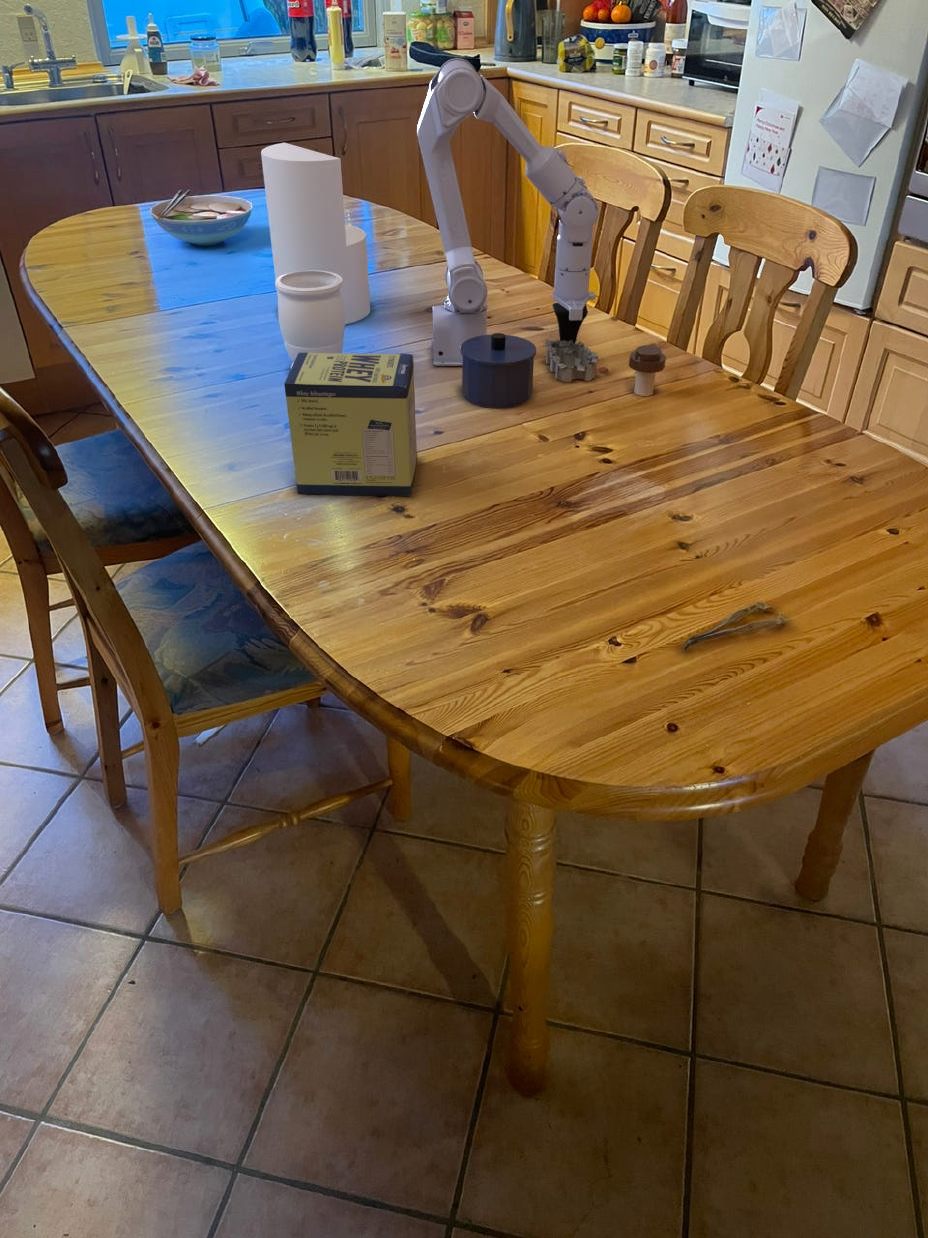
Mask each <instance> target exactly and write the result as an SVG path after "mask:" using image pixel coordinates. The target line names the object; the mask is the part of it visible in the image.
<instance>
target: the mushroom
mask: <svg viewBox="0 0 928 1238" xmlns="http://www.w3.org/2000/svg"><path fill="white" fill-rule="evenodd" d="M666 362H667V356H666V355H665V353H663V351H662V349H661V348H660V347H658V346H655V345H639V346H637V347H635V350H634V351H632V352H631V353H629V361H628V366H629V368H630V369H631V370H633V371H635V378H634V379H635V380H634V387H633V388H634V389H633V393H634V394H635V395H637V396H641V397H649V396H652V395H653V394H654V388H655V380H656V373H659V372H662V371H664V370H665V368H666Z"/></svg>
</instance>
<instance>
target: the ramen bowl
mask: <svg viewBox="0 0 928 1238" xmlns="http://www.w3.org/2000/svg"><path fill="white" fill-rule="evenodd" d="M190 193H191V191H190V189H187V190H185V191H184V192H183V190H182V189H179V190H178V191H177V192H176V194H175V195H174V197H173V198H172V199H168V200H165V201H164V200H163V201H161V202H159V203H156V204H155V205H153V206H151V207H150V210H149V214H150V215H151V217H152V218H153V220H154V221H155V222H156V224H157V225H158V226H159V227H160V228H161V229H162V230H163V231H164V232H166V233H167V234H168V235H170V236H171V237H173V238H174V239H177V240H180V241H184V242H188V243H189V244H191V245H194V246H204V247H205V246H207V247H208V246H214V245H218V244H221V243H222V242H224V241H225V240H228V239H229V238H231V237H232V238H233V236H235V235H237V234H238V233H239V232H241V230H242V229H244V227H245V226H246V224H247V223H248V221H249V219H250V217H251V213H252V210H253V202H250V201H249V200H247V199H245V198H240V197H235V196H228V195H216V194H215V195H213V194H212V195H209V194H208V195H192V196H188V195H189V194H190Z"/></svg>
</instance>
